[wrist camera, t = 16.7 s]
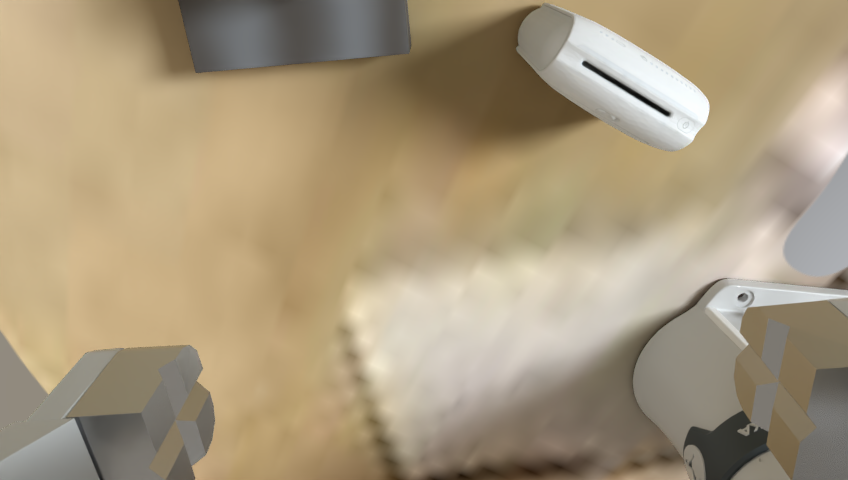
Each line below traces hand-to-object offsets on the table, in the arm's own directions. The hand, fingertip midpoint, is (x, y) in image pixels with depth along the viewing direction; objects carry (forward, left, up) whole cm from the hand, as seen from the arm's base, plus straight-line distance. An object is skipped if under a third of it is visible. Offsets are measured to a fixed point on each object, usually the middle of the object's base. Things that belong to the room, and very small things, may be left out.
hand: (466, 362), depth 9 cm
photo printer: (-10, +2, -37) cm, 39 cm away
